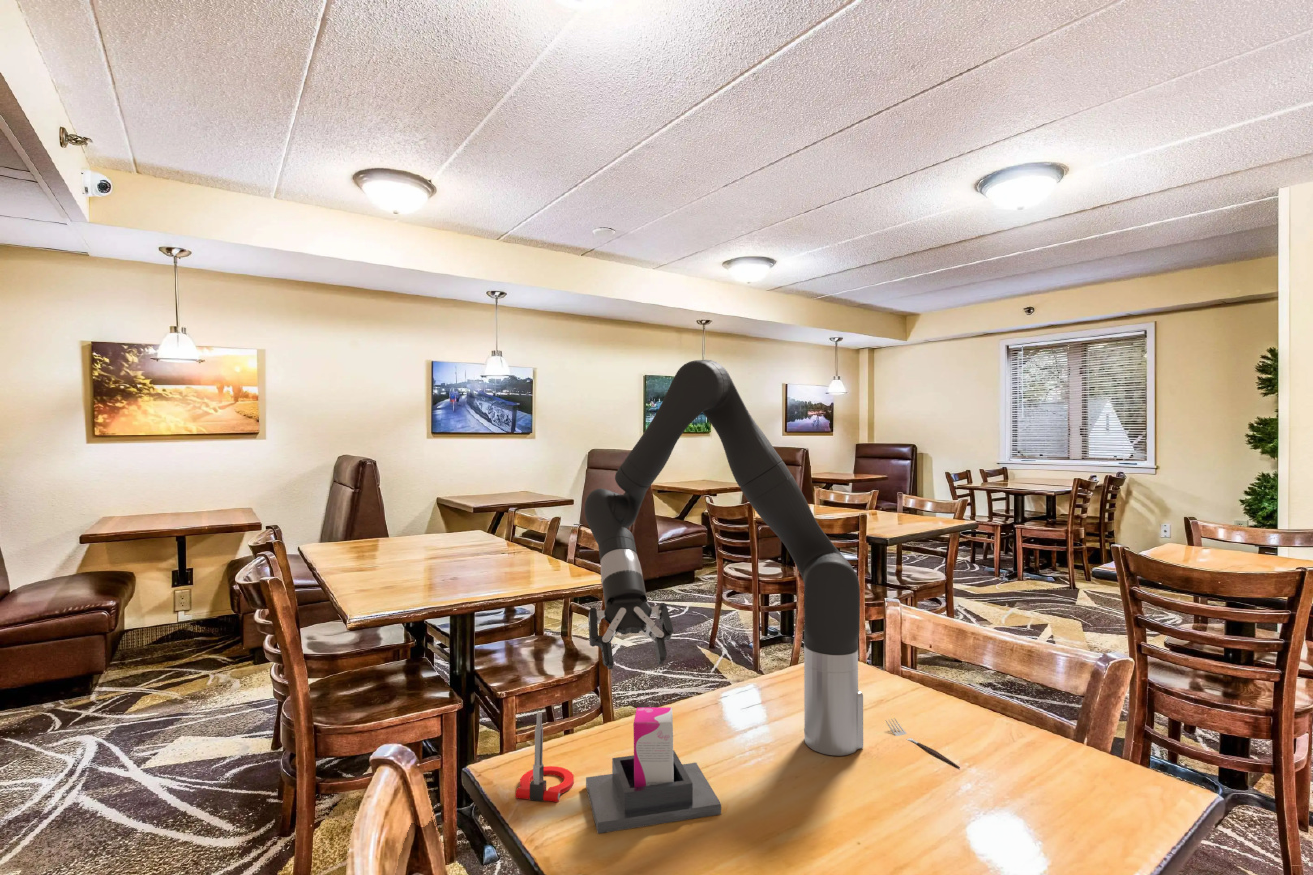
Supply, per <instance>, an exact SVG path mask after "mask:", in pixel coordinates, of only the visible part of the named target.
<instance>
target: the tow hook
mask: <svg viewBox="0 0 1313 875" xmlns="http://www.w3.org/2000/svg"><path fill="white" fill-rule="evenodd" d="M542 718H543V712H539V711H538V712H537V713H536V726H535V727H534V764H532V769H530V770H528V771H526V772H525V773H524V774H522V775H521V777H520V778H519V787H517V789H516V791H515V798H516V799H523V800H524V799H525V800H530V801H536V802H555V803H558V802H560V799H561V795H562V794H563V793H565V792H567V791H569V790H570V789H571V788H572V787H573V786H574V783H575V777H574V776H575V775H574V774H573V772H572V771H570V770H569V769H567V768H564V767H561V766H555V765H554V766H553V765H552V766H551V765H549V766H547V765H546V766H544V764H543V763H544V762H543V759H544V758H543V757H544V756H543V749H544V748H543V746H544V743H543V742H544V726H543V722H542V721H543V719H542ZM549 775H550V776H556V777H560V778H562V780H563V781H562V782H560V783H558V784H557V785H553V786H550V787H548V788H547V780H546V779H544V777H545V776H549Z"/></svg>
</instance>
